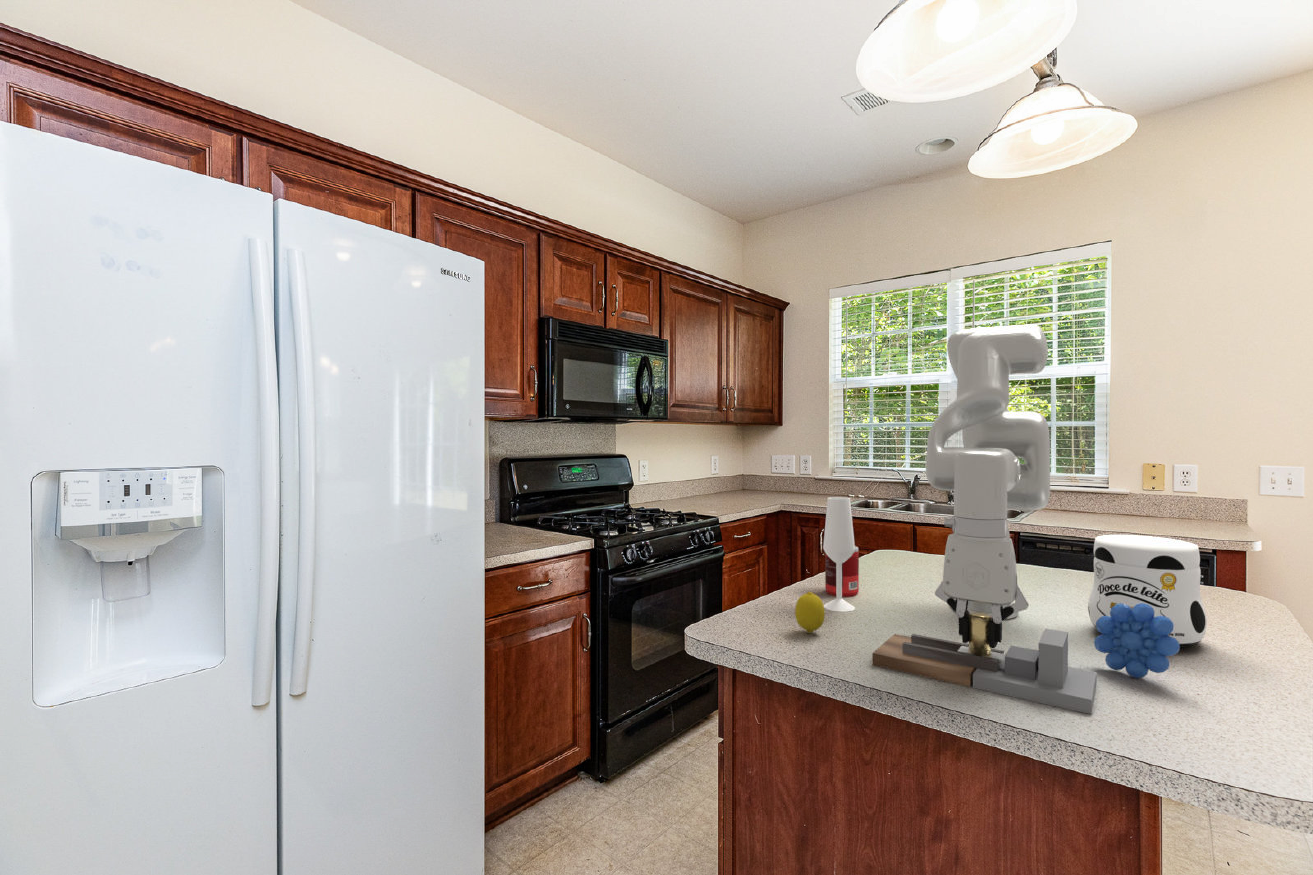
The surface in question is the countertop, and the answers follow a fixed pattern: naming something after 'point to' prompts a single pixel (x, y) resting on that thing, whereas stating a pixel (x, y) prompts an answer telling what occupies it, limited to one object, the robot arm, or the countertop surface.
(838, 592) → the champagne flute
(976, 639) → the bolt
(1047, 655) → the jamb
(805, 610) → the lemon
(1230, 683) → the countertop surface
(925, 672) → the wooden block with rails
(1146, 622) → the blue flower
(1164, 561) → the doce de leite tub
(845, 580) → the canned food
